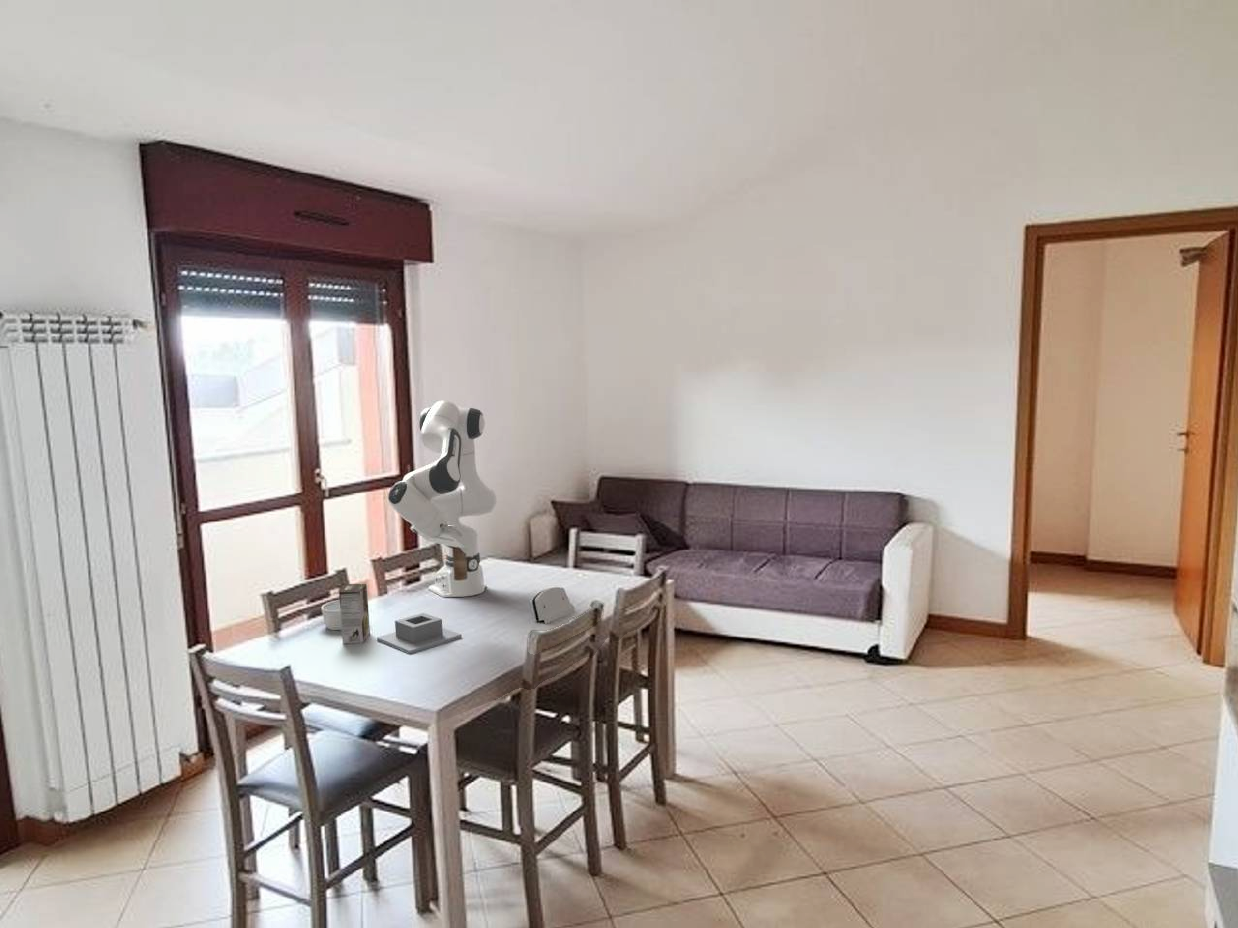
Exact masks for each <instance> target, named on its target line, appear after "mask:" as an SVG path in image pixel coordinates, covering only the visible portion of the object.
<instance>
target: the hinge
mask: <svg viewBox="0 0 1238 928" xmlns="http://www.w3.org/2000/svg"><path fill="white" fill-rule="evenodd" d="M529 606H530V611H531V615H532V620H533V622H534V623H535V622H540V621H544V624H545V625H547V624H549V623H551V622H553V621H556V620H558V619H560V618H562V617H564V616H566V615H568V614H570V613H572V612H575V611H576V608H575V606H574V604H573V603H571V602H570V599H569V597H568V595H567V592H566V589H565V588H564V587H560V586H557V587H555V586H554V587H548V588H545V589H543V590H541V591H539V592H538V593H536V594H535V595H534V596H533V597H531V599H530V600H529Z"/></svg>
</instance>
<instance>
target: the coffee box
mask: <svg viewBox="0 0 1238 928" xmlns="http://www.w3.org/2000/svg"><path fill="white" fill-rule="evenodd" d="M367 587H368V586H367V583H347V584H345V585H344V587H342V588H341V590H340V591H339V592H338V594H339V600H340V609H341V624H342V630H341V636H342V637H341V638H342V644H343V645H346V643H348V644H363V643H364V642H366V640H365V639H367V638H368V636H369V635H370V634H371V628H370V627H371V626H370V615H369V598H368V588H367ZM359 642H360V643H359ZM362 642H363V643H362Z"/></svg>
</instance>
